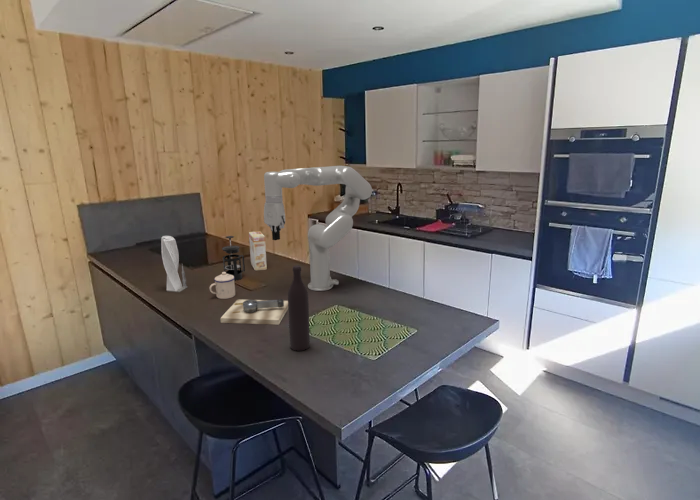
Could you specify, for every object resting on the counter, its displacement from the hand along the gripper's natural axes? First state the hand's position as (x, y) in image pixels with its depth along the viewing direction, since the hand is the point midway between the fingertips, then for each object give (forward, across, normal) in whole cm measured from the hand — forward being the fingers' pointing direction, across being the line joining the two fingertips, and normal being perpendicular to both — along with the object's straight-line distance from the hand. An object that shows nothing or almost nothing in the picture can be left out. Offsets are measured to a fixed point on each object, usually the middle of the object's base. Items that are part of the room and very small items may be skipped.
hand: (276, 239), depth 188 cm
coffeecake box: (+27, -44, +22) cm, 56 cm away
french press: (+27, -37, +1) cm, 46 cm away
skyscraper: (+27, -45, -28) cm, 60 cm away
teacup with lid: (+27, -19, -18) cm, 38 cm away
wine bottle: (+27, +44, -29) cm, 60 cm away
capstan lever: (+24, +11, -20) cm, 33 cm away
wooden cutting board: (+27, +9, -20) cm, 35 cm away
